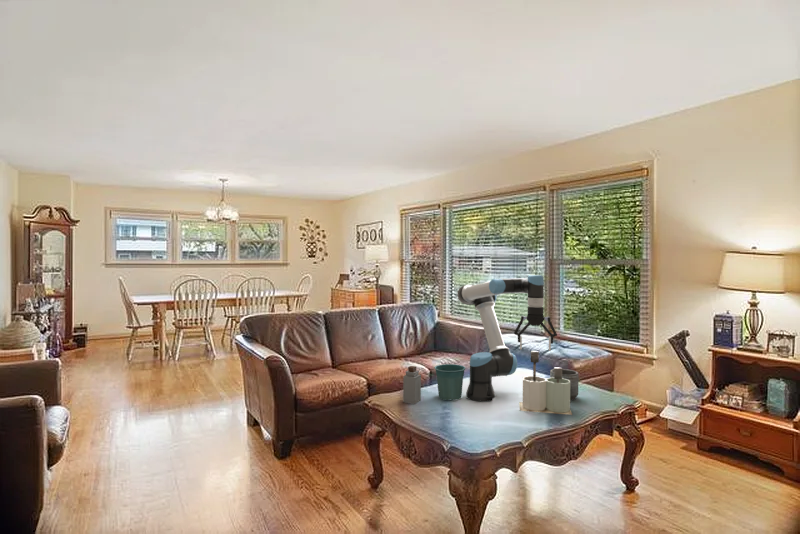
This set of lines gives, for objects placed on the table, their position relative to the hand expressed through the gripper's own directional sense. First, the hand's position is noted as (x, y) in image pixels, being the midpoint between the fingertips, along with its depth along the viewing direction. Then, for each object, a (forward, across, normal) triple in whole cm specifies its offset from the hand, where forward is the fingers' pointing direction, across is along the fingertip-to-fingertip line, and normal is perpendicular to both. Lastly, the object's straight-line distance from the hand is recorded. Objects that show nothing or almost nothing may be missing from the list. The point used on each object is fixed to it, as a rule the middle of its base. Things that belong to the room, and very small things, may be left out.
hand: (535, 349), depth 231 cm
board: (+30, +5, 0) cm, 30 cm away
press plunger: (+16, 0, 0) cm, 16 cm away
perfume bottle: (+30, -61, -2) cm, 68 cm away
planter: (+30, +16, +21) cm, 40 cm away
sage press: (+28, +11, +2) cm, 31 cm away
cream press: (+28, 0, +2) cm, 29 cm away
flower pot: (+30, -43, +10) cm, 54 cm away
